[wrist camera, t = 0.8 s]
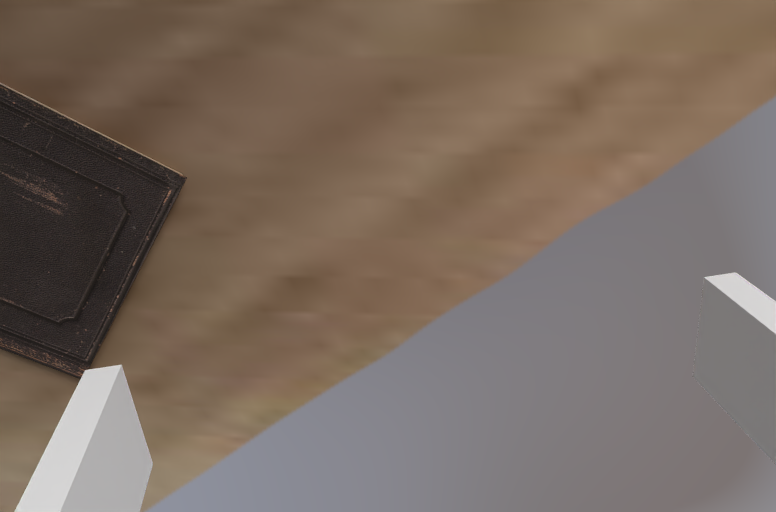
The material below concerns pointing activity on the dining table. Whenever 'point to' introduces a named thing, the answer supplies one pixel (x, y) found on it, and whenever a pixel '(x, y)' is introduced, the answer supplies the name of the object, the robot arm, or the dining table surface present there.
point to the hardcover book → (70, 230)
